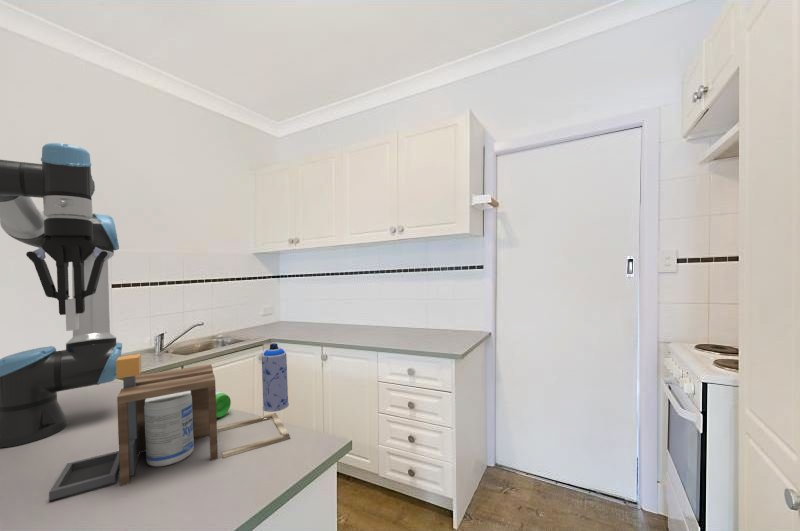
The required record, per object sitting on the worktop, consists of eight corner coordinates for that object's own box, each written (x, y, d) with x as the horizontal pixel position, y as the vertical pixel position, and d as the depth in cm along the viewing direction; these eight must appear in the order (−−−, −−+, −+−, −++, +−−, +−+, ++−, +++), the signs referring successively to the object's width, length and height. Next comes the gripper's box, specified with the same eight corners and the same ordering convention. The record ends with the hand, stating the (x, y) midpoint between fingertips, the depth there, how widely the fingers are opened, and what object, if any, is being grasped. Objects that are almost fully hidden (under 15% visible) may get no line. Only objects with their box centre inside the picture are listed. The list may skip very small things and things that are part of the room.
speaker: (232, 413, 107) (232, 389, 107) (211, 423, 100) (211, 397, 100) (193, 406, 114) (192, 383, 114) (171, 415, 107) (170, 391, 107)
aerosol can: (268, 402, 115) (266, 341, 115) (292, 401, 115) (290, 341, 115) (258, 412, 107) (256, 347, 107) (283, 411, 107) (281, 346, 107)
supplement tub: (194, 459, 81) (192, 396, 81) (144, 473, 76) (142, 406, 76) (192, 442, 89) (190, 385, 89) (147, 454, 84) (145, 393, 84)
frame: (217, 429, 96) (217, 426, 96) (275, 415, 104) (275, 412, 104) (222, 457, 81) (222, 454, 81) (290, 438, 89) (289, 435, 89)
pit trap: (67, 472, 78) (67, 463, 78) (124, 457, 83) (123, 449, 83) (49, 502, 67) (49, 492, 67) (115, 484, 73) (115, 474, 73)
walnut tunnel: (130, 452, 86) (128, 377, 85) (213, 431, 95) (211, 364, 95) (120, 486, 72) (117, 396, 72) (217, 458, 81) (215, 379, 81)
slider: (125, 454, 83) (122, 352, 83) (146, 449, 85) (142, 350, 85) (117, 478, 74) (113, 363, 74) (140, 472, 76) (137, 360, 76)
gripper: (18, 215, 67) (22, 336, 67) (105, 217, 74) (108, 328, 74) (32, 220, 74) (36, 331, 74) (111, 222, 81) (115, 323, 80)
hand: (72, 329), depth 74 cm, fingers closed
